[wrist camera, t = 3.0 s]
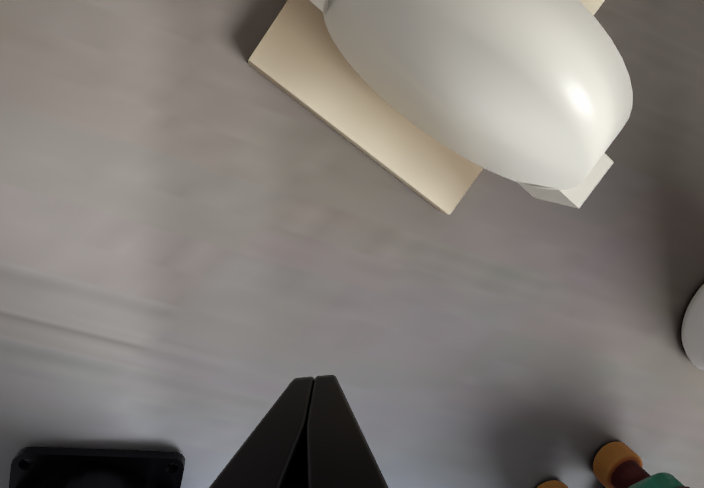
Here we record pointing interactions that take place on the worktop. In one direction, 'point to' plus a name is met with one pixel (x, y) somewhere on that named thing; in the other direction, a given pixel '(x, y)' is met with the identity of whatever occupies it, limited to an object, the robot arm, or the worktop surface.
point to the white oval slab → (496, 82)
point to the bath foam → (694, 329)
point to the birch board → (360, 105)
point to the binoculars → (622, 471)
